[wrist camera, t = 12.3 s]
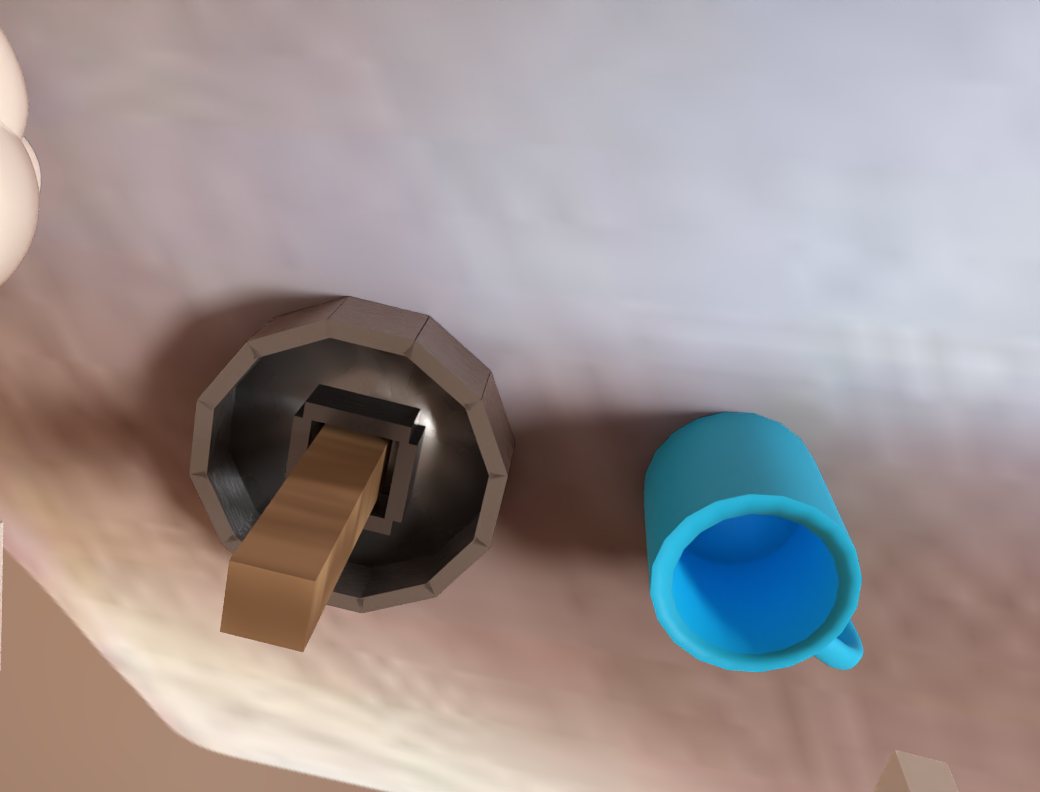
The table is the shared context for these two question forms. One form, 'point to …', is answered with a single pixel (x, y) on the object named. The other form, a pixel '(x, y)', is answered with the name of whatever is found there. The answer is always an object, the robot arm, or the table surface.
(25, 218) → the teapot
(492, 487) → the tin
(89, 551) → the table surface
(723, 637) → the mug
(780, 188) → the table surface
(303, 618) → the square wooden stick
